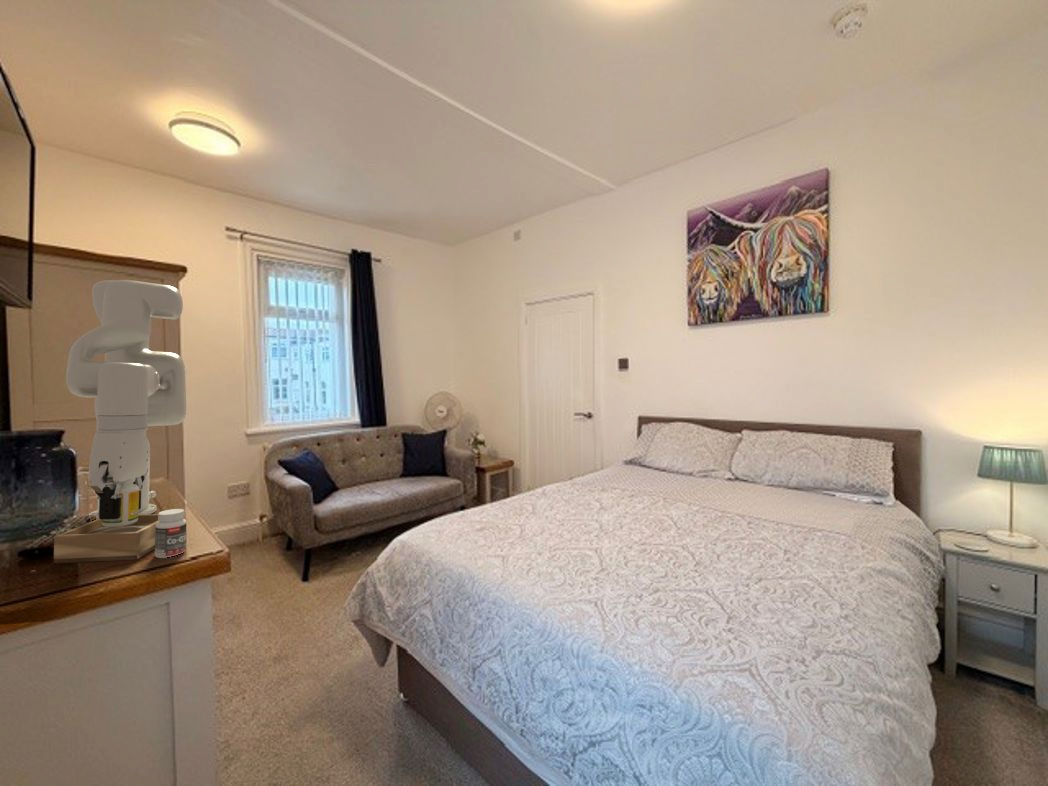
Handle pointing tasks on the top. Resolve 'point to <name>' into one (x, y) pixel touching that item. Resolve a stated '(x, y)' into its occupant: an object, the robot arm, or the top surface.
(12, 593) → the top surface
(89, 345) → the robot arm
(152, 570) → the top surface
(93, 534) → the oak box
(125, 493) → the supplement bottle
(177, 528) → the pill bottle
